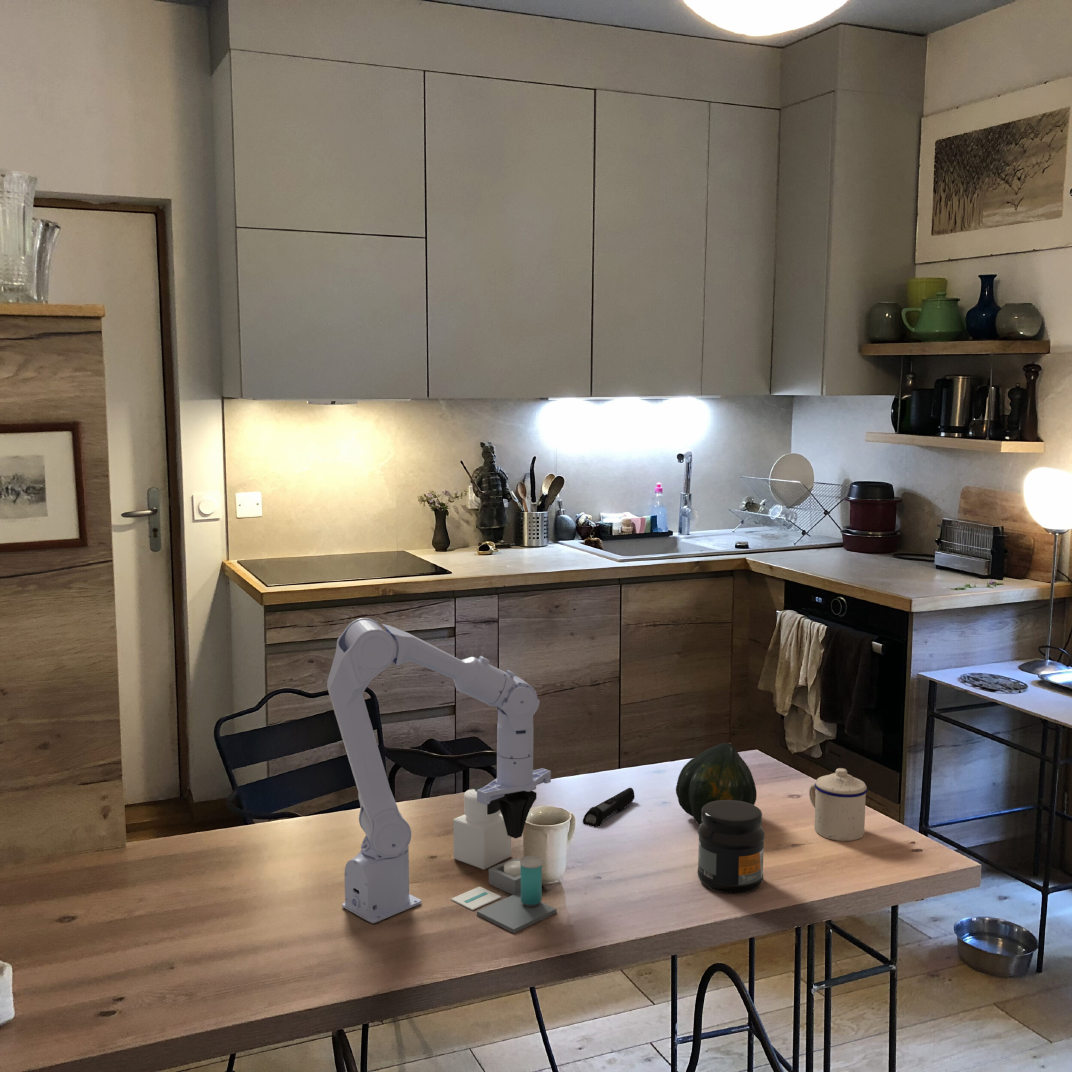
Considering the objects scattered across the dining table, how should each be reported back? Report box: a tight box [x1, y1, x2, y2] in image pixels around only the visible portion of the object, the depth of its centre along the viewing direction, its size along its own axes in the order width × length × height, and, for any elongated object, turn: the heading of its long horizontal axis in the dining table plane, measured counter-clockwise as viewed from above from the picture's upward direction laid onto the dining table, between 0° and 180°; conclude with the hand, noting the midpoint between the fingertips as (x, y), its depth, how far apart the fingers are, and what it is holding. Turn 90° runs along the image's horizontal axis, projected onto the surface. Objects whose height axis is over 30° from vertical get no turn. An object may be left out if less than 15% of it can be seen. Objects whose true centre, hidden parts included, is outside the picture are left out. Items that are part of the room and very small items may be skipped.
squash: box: [675, 742, 758, 826], centre depth 199 cm, size 14×15×15 cm
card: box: [450, 886, 502, 911], centre depth 168 cm, size 6×5×1 cm
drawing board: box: [476, 892, 557, 934], centre depth 163 cm, size 9×8×1 cm
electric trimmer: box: [582, 787, 636, 828], centre depth 203 cm, size 4×16×3 cm, turn 146°
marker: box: [520, 854, 543, 908], centre depth 164 cm, size 3×3×7 cm
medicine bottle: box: [452, 785, 512, 870], centre depth 182 cm, size 7×7×12 cm
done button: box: [504, 860, 521, 877], centre depth 173 cm, size 4×4×3 cm
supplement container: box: [697, 800, 766, 895], centre depth 173 cm, size 10×10×12 cm
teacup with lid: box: [808, 767, 868, 842], centre depth 194 cm, size 12×9×12 cm
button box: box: [488, 857, 521, 896], centre depth 173 cm, size 6×6×2 cm
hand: (514, 835), depth 172 cm, fingers closed
